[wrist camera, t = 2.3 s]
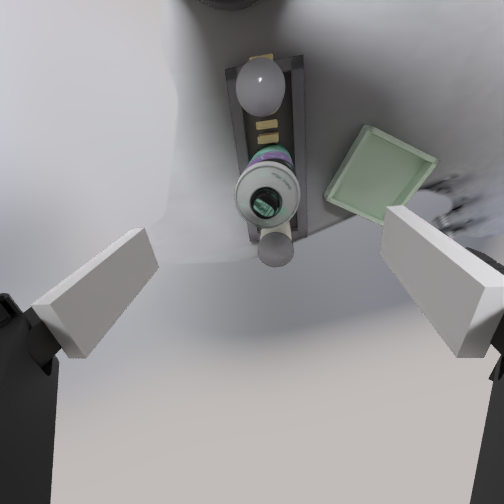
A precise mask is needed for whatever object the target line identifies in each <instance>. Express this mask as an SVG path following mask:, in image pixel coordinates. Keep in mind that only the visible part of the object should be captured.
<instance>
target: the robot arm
mask: <svg viewBox="0 0 504 504" xmlns="http://www.w3.org/2000/svg"><path fill="white" fill-rule="evenodd" d="M200 1H201V2H203V3H205V4H206V5H209V6H211V7H214V8H217V9H221V10H238V9H242V8H246V7H248V6H251V5H253V4H255V3H256V2H258V1H260V0H200ZM380 256H381V257H382V259H383V260H384V261H385V263H386V264H387V265H388V267H389V268H390V269H391V271H392V272H393V273H394V274H395V276H396V277H397V279H398V280H399V281H400V282H401V284H402V285H403V287H404V288H405V289H406V291H407V292H408V293H409V294H410V296H411V297H412V299H413V300H414V301H415V303H416V304H417V305H418V307H419V308H420V309H421V311H422V312H423V313H424V315H425V316H426V317H427V319H428V320H429V321H430V323H431V324H432V325H433V327H434V328H435V330H436V331H437V332H438V334H439V335H440V336H441V337H442V339H443V340H444V341H445V343H446V344H447V346H448V347H449V348H450V349H451V351H452V352H453V354H454V355H455V356H456V358H484V357H485V355H486V352H487V350H488V348H489V346H490V344H492V345H493V346H494V347H495V348H496V349H497V350H498V351H499V353H500V354H501V356H500V358H499V360H498V362H497V364H496V365H495V367H494V369H493V371H492V373H491V375H490V377H489V379H490V380H492V381H493V386H492V391H491V396H490V401H489V407H488V412H487V417H486V423H485V427H484V433H483V438H482V443H481V448H480V454H479V459H478V464H477V469H476V474H475V479H474V485H473V490H472V495H471V500H470V504H504V266H503V265H501V264H500V263H497V262H496V261H495V260H493V259H492V258H490V257H489V256H487V255H486V254H484V253H481V252H479V251H476V250H474V249H471V248H464V247H462V246H461V245H459V244H458V243H456V242H455V241H454V240H452V239H451V238H449V237H448V236H446V235H445V234H443V233H442V232H441V231H439V230H438V229H436V228H435V227H433V226H432V225H430V224H429V223H427V222H426V221H425V220H423V219H422V218H420V217H419V216H417V215H416V214H415V213H413V212H412V211H410V210H409V209H407V208H406V207H405V206H403V205H399V206H387V207H386V211H385V218H384V225H383V232H382V240H381V247H380ZM158 268H159V266H158V263H157V261H156V258H155V255H154V252H153V250H152V247H151V244H150V241H149V239H148V236H147V233H146V230H145V228H134V229H131V230H130V231H129V232H127V233H126V234H125V235H123V236H122V237H121V238H119V239H118V240H117V241H115V242H114V243H113V244H111V245H110V246H109V247H107V248H106V249H105V250H103V251H102V252H101V253H99V254H98V255H97V256H95V257H94V258H93V259H91V260H90V261H89V262H87V263H86V264H85V265H83V266H82V267H81V268H79V269H78V270H77V271H75V272H74V273H72V274H71V275H70V276H69V277H67V278H66V279H64V280H63V281H62V282H60V283H59V284H58V285H56V286H55V287H54V288H53V289H51V290H50V291H48V292H47V293H46V294H45V295H43V296H42V297H40V298H39V299H38V300H37V301H35V302H34V303H33V304H31V307H30V308H29V309H28V310H27V311H25V312H24V313H23V312H22V311H21V310H20V308H19V307H18V306H17V304H16V303H15V302H14V300H13V299H12V298H11V296H10V295H9V294H7V293H2V294H0V504H50V499H51V483H52V468H53V452H54V436H55V420H56V404H57V389H58V372H59V361H58V359H57V357H56V356H55V354H56V353H57V352H58V351H59V350H60V349H61V348H62V349H63V351H64V352H65V353H66V355H67V356H68V358H87V357H88V355H89V354H90V353H91V352H92V351H93V349H94V348H95V347H96V346H97V344H98V343H99V342H100V341H101V339H102V338H103V337H104V335H105V334H106V333H107V332H108V331H109V329H110V328H111V327H112V325H113V324H114V323H115V322H116V321H117V319H118V318H119V317H120V316H121V314H122V313H123V312H124V310H125V309H126V308H127V307H128V306H129V304H130V303H131V302H132V301H133V300H134V298H135V297H136V296H137V295H138V293H139V292H140V291H141V290H142V288H143V287H144V286H145V285H146V283H147V282H148V281H149V279H150V278H151V277H152V276H153V275H154V273H155V272H156V271H157V270H158Z"/></svg>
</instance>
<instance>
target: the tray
mask: <svg viewBox="0 0 504 504" xmlns="http://www.w3.org/2000/svg"><path fill="white" fill-rule="evenodd" d="M439 162H440V160H438V159H436V158H434V157H432V156H430V155H428V154H426V153H424V152H422V151H420V150H418V149H416V148H414V147H413V146H411V145H409V144H407V143H405V142H403V141H401V140H399V139H397V138H395V137H393V136H391V135H389V134H387V133H385V132H383V131H381V130H379V129H377V128H375V127H373V126H371V125H363V127H362V129H361V130H360V132H359V134H358V136H357V137H356V139H355V141H354V143H353V144H352V146H351V148H350V149H349V151H348V153H347V155H346V156H345V158H344V160H343V161H342V163H341V165H340V167H339V168H338V170H337V172H336V173H335V175H334V177H333V179H332V180H331V182H330V184H329V185H328V187H327V189H326V191H325V192H324V194H323V197H324V198H325V200H326V201H328V202H331V203H333V204H335V205H337V206H339V207H341V208H344V209H346V210H348V211H350V212H352V213H355V214H357V215H359V216H361V217H363V218H366V219H368V220H370V221H372V222H374V223H377V224H379V225H381V226H383V225H384V218H385V211H386V207H387V206H399V205H403V206H405V205H406V204H407V203H408V201H409V200H410V199H411V198H412V196H413V195H414V194H415V192H416V191H417V190H418V189H419V187H420V186H421V185H422V184H423V182H424V181H425V180H426V178H427V177H428V176H429V175H430V173H431V172H432V171H433V170H434V168H435V167H436V166H437V164H438V163H439Z"/></svg>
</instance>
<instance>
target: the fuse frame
mask: <svg viewBox="0 0 504 504" xmlns="http://www.w3.org/2000/svg"><path fill="white" fill-rule="evenodd" d="M257 57H265V58H269V59H271V60H273V53H271V54H266V55H260V56H255V57H250V58H249V61H250V60H251V59H254V58H257ZM273 61H274V62H275V63H277V65H278V66H279V67H280V69H281V70H282V72H283V73H288V72H291V87H292V111H293V135H294V160H295V173H296V176H297V180H298V183H299V187H300V201H299V206H298V208H297V227H295V228H291V238H305V237H307V205H306V157H305V109H304V61H303V55H299V56H293V57H288V58H282V59H277V60H273ZM242 67H243V66H238V67H233V68H227V69H225V74H226V81H227V88H228V95H229V102H230V109H231V115H232V122H233V129H234V136H235V143H236V149H237V156H238V163H239V170H240V176H241V175H242V173H243V171H244V170H245V168H246V167H247V165H248V164H249V162H250V160H249V152H248V144H247V136H246V128H245V120H244V112H243V107H242V106H241V104H240V103H239V100H238V97H237V93H236V82H237V77H238V75H239V72H240V70H241V69H242ZM276 127H278V119H274V120H267V121H260V122H256V129H257V130H261V129H268V128H276ZM257 138H258V144H265V143H273V142H279V134H278V132H271V133H263V134H260V135H259V136H258V137H257ZM247 224H248V231H249V238H250V241H260V237H261V230H258V227H255V226H253V225H251V224H249V223H248V222H247Z"/></svg>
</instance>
